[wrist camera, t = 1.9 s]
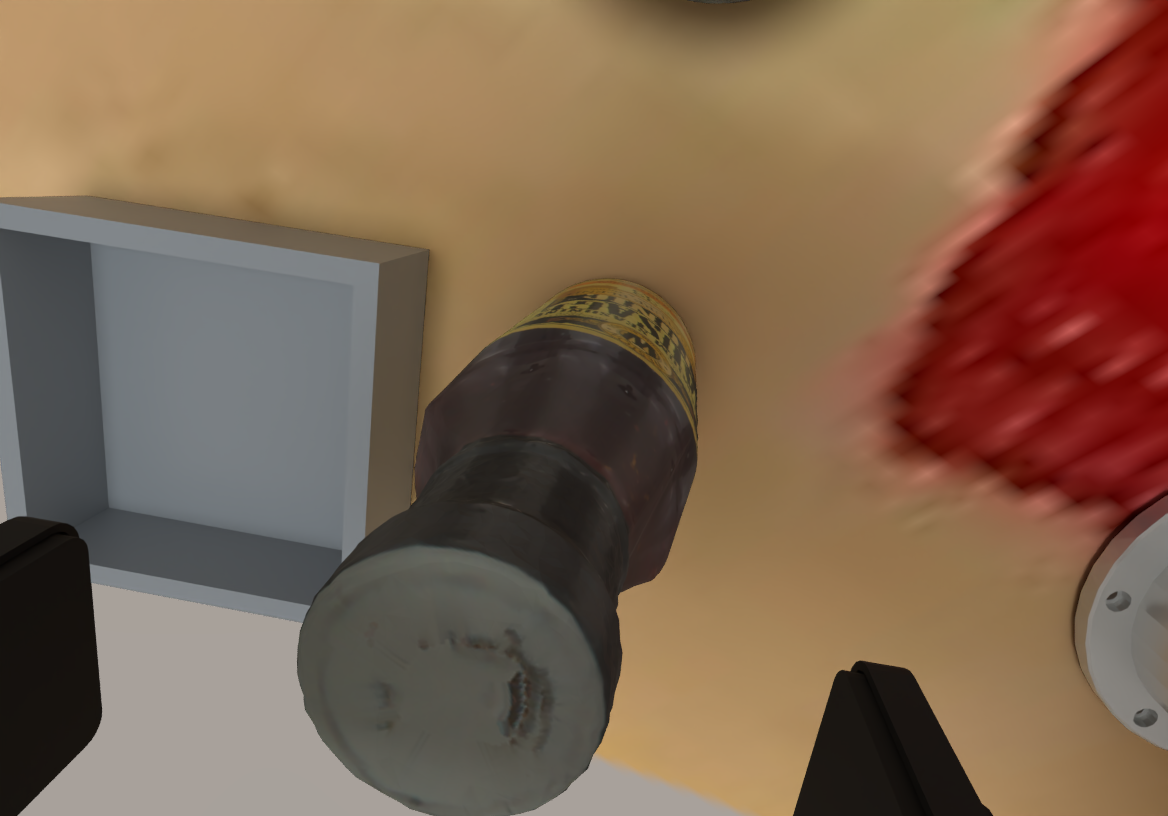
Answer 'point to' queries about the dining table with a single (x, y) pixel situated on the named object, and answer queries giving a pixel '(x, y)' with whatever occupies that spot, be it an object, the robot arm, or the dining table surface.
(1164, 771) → the dining table surface
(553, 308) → the sauce bottle
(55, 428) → the box
